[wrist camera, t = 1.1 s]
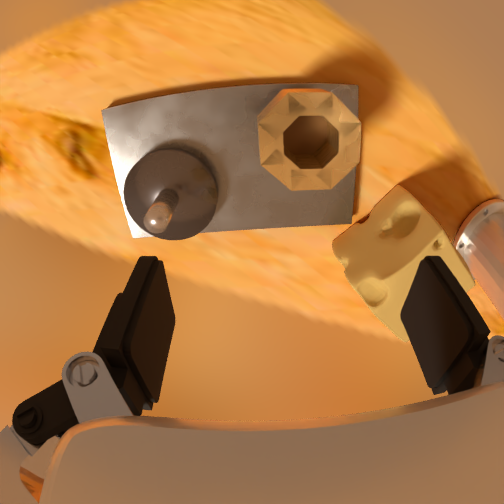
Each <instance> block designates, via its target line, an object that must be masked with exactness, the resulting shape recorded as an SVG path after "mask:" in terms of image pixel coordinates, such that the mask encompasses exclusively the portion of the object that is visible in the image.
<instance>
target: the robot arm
mask: <svg viewBox="0 0 504 504" xmlns="http://www.w3.org/2000/svg"><path fill="white" fill-rule="evenodd" d="M453 245H454V247H455V248H456V249H457V250H458V252H459V253H460V254H461V255H462V257H463V258H464V260H465V262H466V263H467V265H468V267H469V269H470V272H471V274H472V277H473V279H474V280H475V279H476V280H477V282H478V283H479V284H480V286H481V287H482V288H483V290H484V291H485V293H486V294H487V296H488V297H489V298H490V300H491V301H492V303H493V304H494V306H495V307H496V309H497V310H498V312H499V313H500V315H501V316H502V318H503V320H504V200H502V199H492V200H488V201H486V202H484V203H482V204H481V205H480V206H478V207H477V208H476V209H474V210H473V211H472V212H471V213H470V214H469V216H468V217H467V218H466V219H465V221H464V222H463V224H462V225H461V227H460V229H459V231H458V233H457V235H456V237H455V240H454V243H453ZM400 317H401V321H402V323H403V325H404V328H405V330H406V332H407V335H408V337H409V339H410V342H411V344H412V346H413V349H414V351H415V354H416V356H417V359H418V361H419V363H420V366H421V369H422V371H423V374H424V377H425V379H426V382H427V385H428V387H430V388H432V391H433V394H434V395H436V394H440V393H444V392H445V391H446V390H447V391H448V395H447V396H443V397H439V398H435V399H431V400H427V401H423V402H418V403H414V404H409V405H404V406H399V407H394V408H389V409H383V410H377V411H371V412H364V413H357V414H350V415H341V416H333V417H323V418H310V419H296V420H276V421H220V420H219V421H218V420H194V419H179V418H167V417H149V416H140V415H141V414H142V410H143V409H144V410H152V407H153V402H154V403H157V402H158V400H159V396H160V391H161V386H162V381H163V376H164V371H165V367H166V362H167V357H168V353H169V348H170V344H171V339H172V335H173V331H174V326H175V314H174V310H173V305H172V301H171V297H170V292H169V288H168V283H167V279H166V274H165V269H164V264H163V261H161V260H158V258H157V257H156V256H141V257H140V258H139V259H138V261H137V263H136V265H135V268H134V270H133V272H132V274H131V276H130V278H129V281H128V283H127V285H126V287H125V289H124V291H123V293H119V294H118V295H117V297H116V298H115V301H114V303H113V305H112V307H111V309H110V312H109V314H108V317H107V319H106V321H105V323H104V326H103V328H102V330H101V333H100V335H99V337H98V340H97V342H96V345H95V347H94V350H93V352H81V353H78V354H75V355H74V356H72V357H71V358H70V359H69V360H68V361H67V362H66V363H65V365H64V367H63V370H62V380H60V381H58V382H57V383H55V384H53V385H51V386H50V387H48V388H46V389H45V390H43V391H41V392H39V393H37V394H36V395H34V396H32V397H30V398H29V399H27V400H25V401H23V402H22V403H21V404H19V405H18V407H17V408H16V409H15V412H14V414H13V420H12V422H13V425H12V426H11V427H9V426H8V425H7V426H6V427H5V428H4V429H3V430H2V431H1V432H0V504H504V337H502V336H493V337H492V338H491V339H490V340H489V339H488V337H487V336H488V335H489V333H490V330H489V328H488V327H487V325H486V323H485V322H484V320H483V318H482V317H481V315H480V313H479V312H478V310H477V309H476V307H475V306H474V304H473V302H472V301H471V299H470V298H469V296H468V295H467V293H466V292H465V290H464V289H463V287H462V286H461V284H460V283H459V282H458V280H457V279H456V277H455V276H454V274H453V273H452V272H451V270H450V269H449V267H448V266H447V265H446V263H445V262H444V261H443V259H442V258H441V257H440V256H425V257H424V259H423V260H421V261H420V263H419V266H418V269H417V272H416V274H415V277H414V280H413V282H412V285H411V287H410V290H409V292H408V295H407V297H406V300H405V302H404V305H403V307H402V309H401V313H400Z"/></svg>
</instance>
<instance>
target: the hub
mask: <svg viewBox="0 0 504 504" xmlns="http://www.w3.org/2000/svg"><path fill="white" fill-rule="evenodd" d="M123 195H124V202H125V206H126V209H127V211H128V213H129V215H130V216H131V218H132V219H133V221H134V222H135V223H136V224H137V225H138V226H139V227H140V228H141V229H143V230H144V231H145V232H147V233H149V234H151V235H153V236H155V237H158V238H161V239H166V240H182V239H186V238H190V237H192V236H195V235H196V234H198V233H200V232H201V231H202V230H204V229H205V228H206V227H207V226H208V224H209V223H210V222H211V220H212V218H213V216H214V214H215V211H216V206H217V202H218V195H219V191H218V183H217V180H216V177H215V175H214V173H213V171H212V169H211V168H210V166H209V165H208V164H207V163H206V162H205V161H204V160H203V159H202V158H201V157H199V156H198V155H196V154H195V153H193V152H191V151H189V150H186V149H182V148H177V147H164V148H159V149H156V150H153V151H151V152H149V153H147V154H146V155H145V156H143V157H142V158H141V159H140V160H139V161H138V162H137V163H136V164H135V165H134V166H133V167H132V168H131V170H130V171H129V173H128V175H127V177H126V180H125V183H124V190H123Z"/></svg>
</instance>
